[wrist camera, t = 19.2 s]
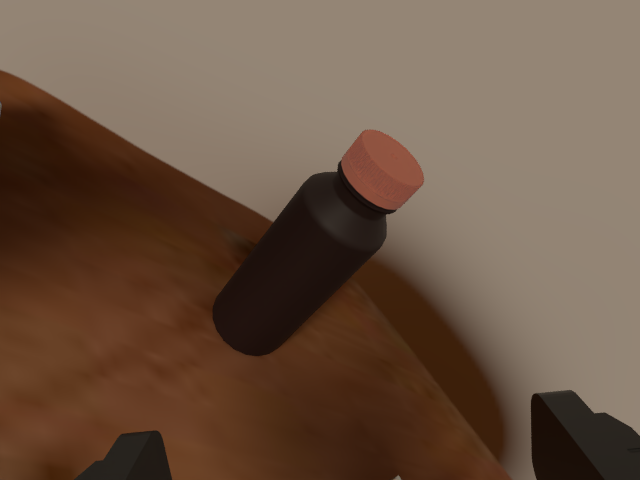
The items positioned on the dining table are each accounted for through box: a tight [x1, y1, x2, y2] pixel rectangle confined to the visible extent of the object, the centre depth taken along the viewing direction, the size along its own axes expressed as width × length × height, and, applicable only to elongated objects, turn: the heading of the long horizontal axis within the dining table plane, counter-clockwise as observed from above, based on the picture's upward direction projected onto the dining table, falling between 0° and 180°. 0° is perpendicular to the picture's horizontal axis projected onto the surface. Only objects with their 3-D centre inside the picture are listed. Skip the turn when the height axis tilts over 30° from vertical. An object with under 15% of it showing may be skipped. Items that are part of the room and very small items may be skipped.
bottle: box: [213, 130, 424, 356], centre depth 35 cm, size 7×7×20 cm
